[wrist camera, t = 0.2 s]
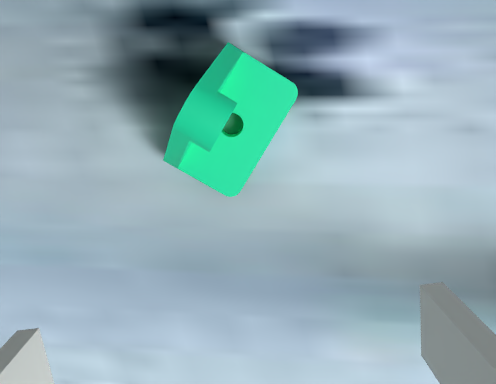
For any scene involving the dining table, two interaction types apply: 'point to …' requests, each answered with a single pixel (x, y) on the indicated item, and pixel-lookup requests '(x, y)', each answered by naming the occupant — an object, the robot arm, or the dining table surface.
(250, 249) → the dining table surface
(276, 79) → the camera mount
